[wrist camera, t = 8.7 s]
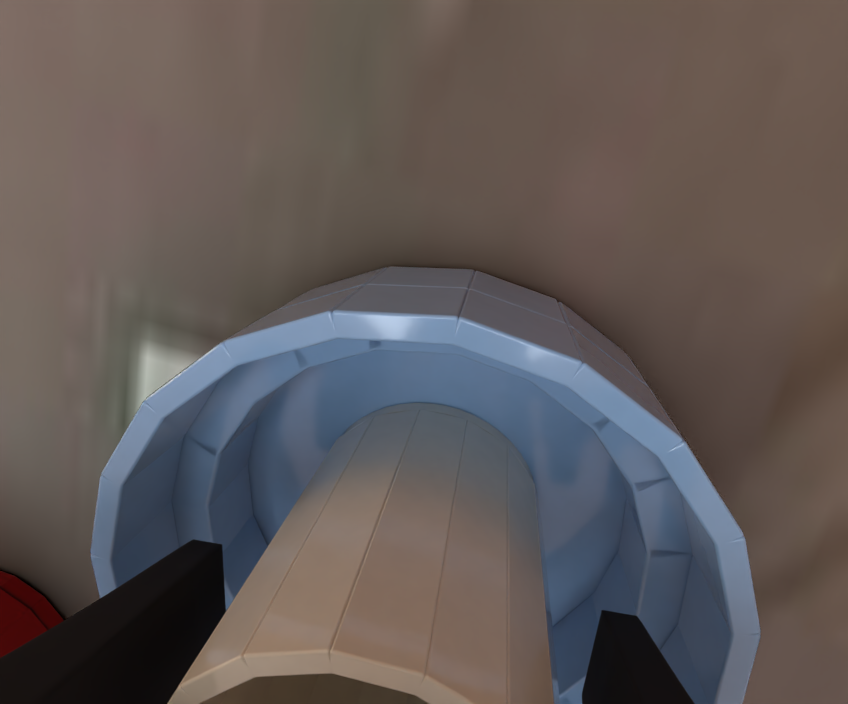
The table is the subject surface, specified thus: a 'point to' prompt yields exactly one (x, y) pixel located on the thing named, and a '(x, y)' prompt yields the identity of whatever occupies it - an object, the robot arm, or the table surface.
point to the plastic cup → (22, 613)
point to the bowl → (473, 393)
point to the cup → (395, 578)
